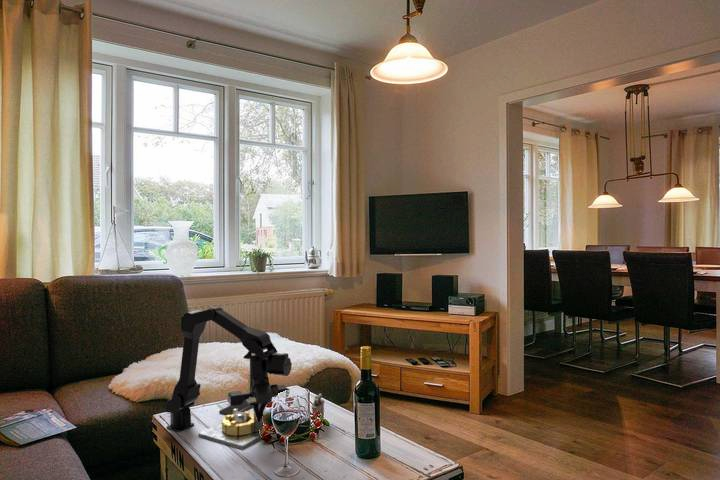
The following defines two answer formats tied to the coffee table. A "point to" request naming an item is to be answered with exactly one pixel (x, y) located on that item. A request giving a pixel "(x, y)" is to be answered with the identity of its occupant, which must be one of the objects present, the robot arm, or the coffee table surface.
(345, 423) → the coffee table surface
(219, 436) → the grey base plate
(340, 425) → the coffee table surface
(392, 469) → the coffee table surface
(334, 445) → the coffee table surface
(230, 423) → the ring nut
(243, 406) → the phone
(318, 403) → the lighter
